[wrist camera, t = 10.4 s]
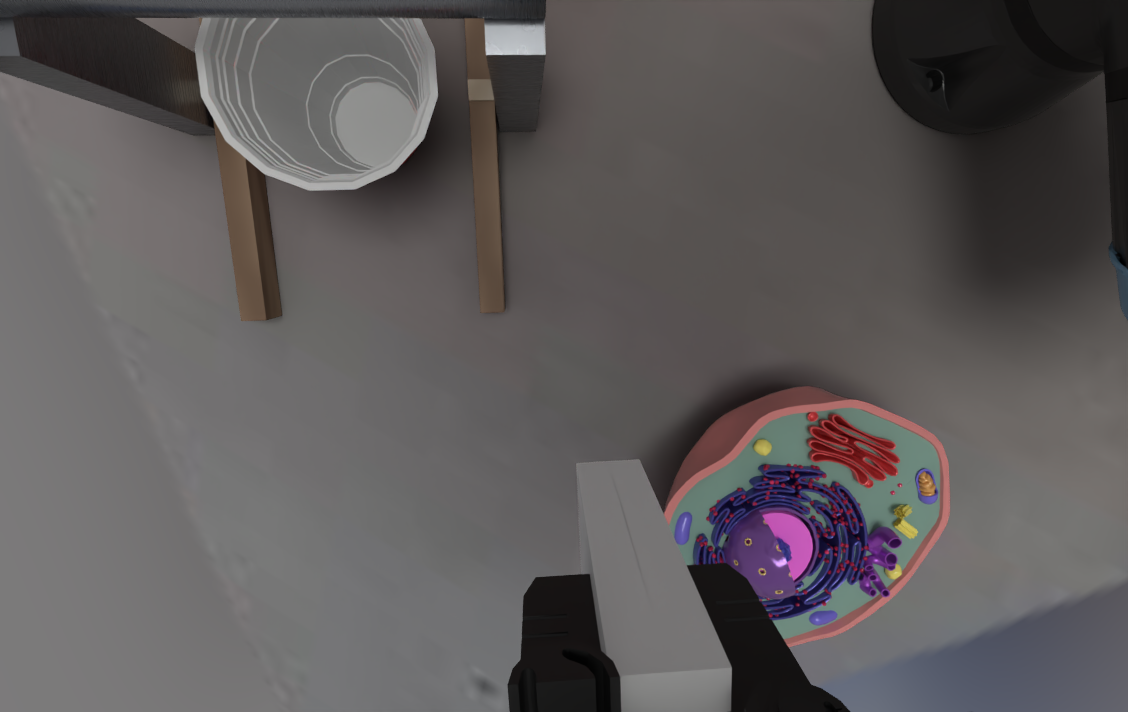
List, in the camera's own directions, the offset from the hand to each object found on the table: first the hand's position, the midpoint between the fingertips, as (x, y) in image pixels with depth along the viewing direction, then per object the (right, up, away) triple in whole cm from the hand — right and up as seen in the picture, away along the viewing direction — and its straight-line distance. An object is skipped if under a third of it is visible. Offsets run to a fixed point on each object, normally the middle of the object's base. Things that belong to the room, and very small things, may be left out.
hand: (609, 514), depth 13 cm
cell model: (+14, -6, +32) cm, 35 cm away
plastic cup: (-13, +19, +24) cm, 34 cm away
